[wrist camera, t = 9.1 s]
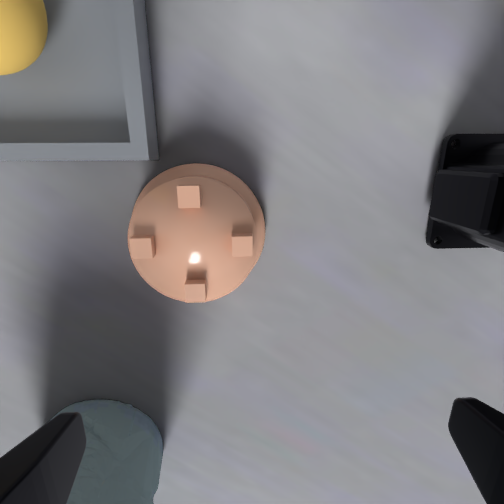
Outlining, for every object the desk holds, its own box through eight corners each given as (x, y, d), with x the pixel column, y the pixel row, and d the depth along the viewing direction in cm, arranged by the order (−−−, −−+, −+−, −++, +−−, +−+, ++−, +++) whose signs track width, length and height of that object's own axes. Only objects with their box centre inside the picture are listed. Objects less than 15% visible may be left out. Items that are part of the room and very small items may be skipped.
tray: (132, -131, 13) (114, -183, 11) (159, 159, 17) (149, 160, 15) (-165, -143, 13) (-240, -200, 11) (-71, 161, 16) (-114, 161, 14)
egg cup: (264, 162, 17) (272, 164, 14) (263, 287, 19) (270, 316, 16) (126, 163, 17) (98, 165, 13) (141, 290, 19) (121, 320, 16)
